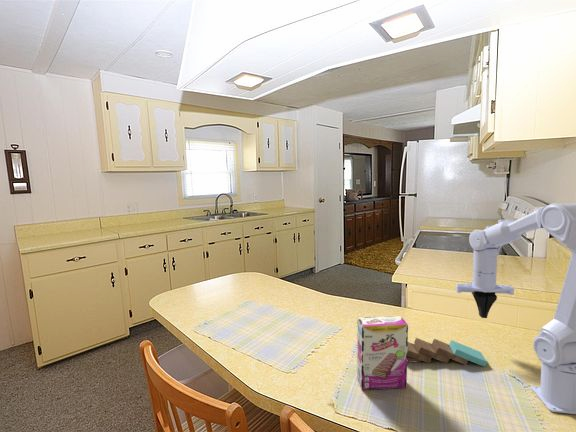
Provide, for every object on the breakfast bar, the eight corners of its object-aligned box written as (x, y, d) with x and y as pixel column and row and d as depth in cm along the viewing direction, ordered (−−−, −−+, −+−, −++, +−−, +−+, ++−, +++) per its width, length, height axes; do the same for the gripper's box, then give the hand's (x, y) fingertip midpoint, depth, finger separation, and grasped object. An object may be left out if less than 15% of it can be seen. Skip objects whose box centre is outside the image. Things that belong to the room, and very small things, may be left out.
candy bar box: (362, 391, 75) (361, 326, 73) (356, 378, 80) (356, 316, 78) (408, 389, 75) (408, 323, 73) (400, 376, 80) (400, 314, 78)
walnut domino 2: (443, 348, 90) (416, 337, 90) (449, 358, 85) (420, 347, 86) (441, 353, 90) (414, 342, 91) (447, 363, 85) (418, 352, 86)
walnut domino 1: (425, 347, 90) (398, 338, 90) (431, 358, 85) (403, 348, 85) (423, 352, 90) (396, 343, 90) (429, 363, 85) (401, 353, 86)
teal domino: (480, 351, 87) (451, 340, 89) (487, 361, 83) (456, 349, 84) (477, 356, 88) (449, 344, 89) (484, 367, 83) (454, 354, 84)
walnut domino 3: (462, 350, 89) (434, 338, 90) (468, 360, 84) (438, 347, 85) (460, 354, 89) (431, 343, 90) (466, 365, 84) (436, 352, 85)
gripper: (506, 268, 92) (504, 312, 94) (452, 266, 95) (451, 309, 97) (518, 275, 85) (516, 322, 87) (460, 273, 89) (459, 319, 90)
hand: (482, 316), depth 91 cm, fingers closed
